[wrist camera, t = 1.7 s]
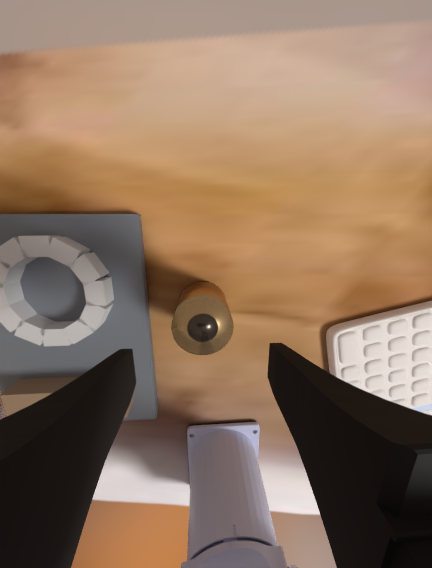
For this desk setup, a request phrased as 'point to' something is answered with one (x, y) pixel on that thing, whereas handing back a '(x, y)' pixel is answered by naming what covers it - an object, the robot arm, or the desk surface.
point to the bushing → (202, 319)
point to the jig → (72, 304)
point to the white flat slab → (387, 355)
